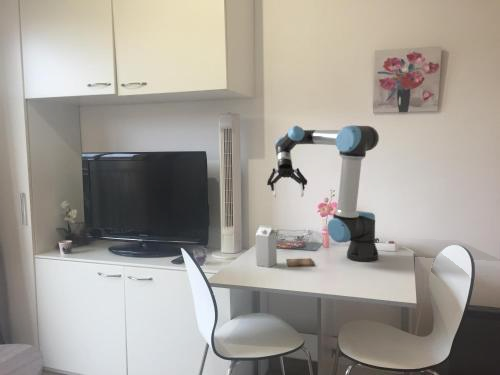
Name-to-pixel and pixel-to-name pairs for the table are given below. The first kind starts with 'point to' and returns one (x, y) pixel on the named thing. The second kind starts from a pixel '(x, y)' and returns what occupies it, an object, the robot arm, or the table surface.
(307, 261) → the walnut board
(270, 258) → the milk carton
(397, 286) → the table surface
